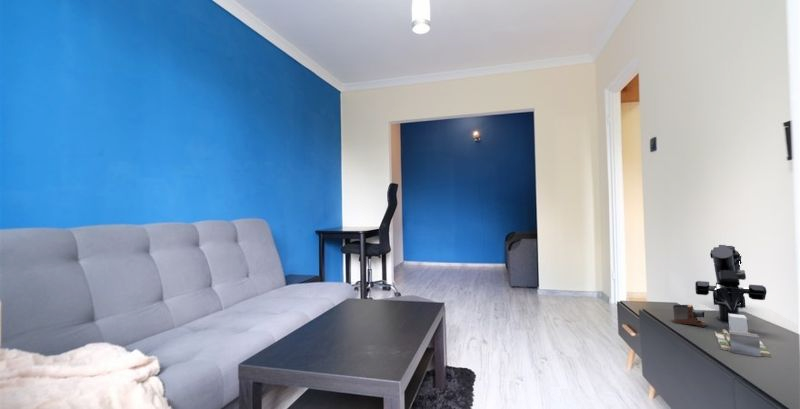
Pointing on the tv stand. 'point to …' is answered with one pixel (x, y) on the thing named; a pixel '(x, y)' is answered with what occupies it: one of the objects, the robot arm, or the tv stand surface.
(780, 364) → the tv stand surface
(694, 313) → the electronic device
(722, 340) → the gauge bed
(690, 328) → the tv stand surface
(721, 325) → the tv stand surface
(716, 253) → the robot arm
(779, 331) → the tv stand surface
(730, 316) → the white rectangular block
